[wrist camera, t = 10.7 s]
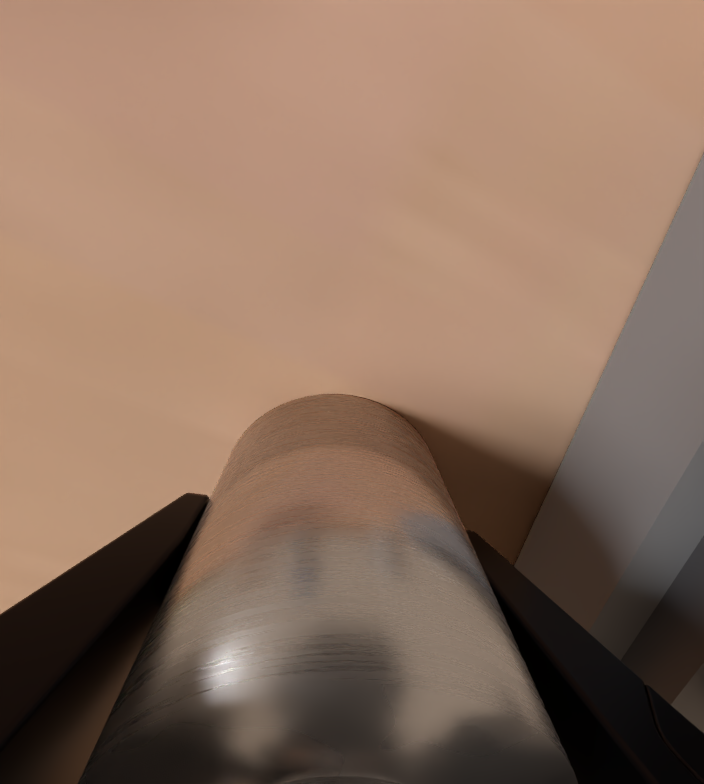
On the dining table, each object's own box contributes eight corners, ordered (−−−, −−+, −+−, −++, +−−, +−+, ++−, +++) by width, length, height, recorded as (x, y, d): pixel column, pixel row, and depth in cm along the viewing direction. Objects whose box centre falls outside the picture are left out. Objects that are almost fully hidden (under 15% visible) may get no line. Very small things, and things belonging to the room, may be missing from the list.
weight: (406, 581, 10) (521, 1118, 4) (216, 558, 10) (6, 1144, 3) (463, 414, 8) (818, 903, 2) (235, 375, 8) (-122, 888, 2)
